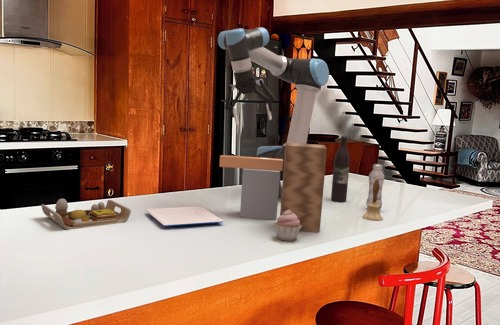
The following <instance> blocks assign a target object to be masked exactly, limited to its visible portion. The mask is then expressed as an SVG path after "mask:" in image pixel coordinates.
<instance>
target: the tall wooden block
mask: <svg viewBox="0 0 500 325" xmlns="http://www.w3.org/2000/svg"><path fill="white" fill-rule="evenodd" d="M284 144H285V156H284V169H283V176H282V182H281V185H282V196H281V197H280V198H281V199H280V213H279V216H281V215H282V214H283V213H284V212H285V211H287V210H291V212H293V213H294V214H295V215H296V216H297V217H298V219H299V221H300V225H302V227H301V228H300V230H299V231H301V232H303V231H304V232H313V233H314V232H315V233H320V232H321V221H322V211H323V210H322V209H323V199H324V198H323V197H324V188H325V178H326V177H325V175H326V164H327V162H326V161H327V154H328V153H327V152H328V151H327V150H328V148H327V147H326V146H325V145H324V144H315V143H314V144H311V143H306V144H299V143H286V142H285V143H284Z"/></svg>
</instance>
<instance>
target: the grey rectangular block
mask: <svg viewBox="0 0 500 325" xmlns="http://www.w3.org/2000/svg"><path fill="white" fill-rule="evenodd" d="M279 179H280V180H281V175H280V171H276V170H261V169H246V168H242V177H241V180H242V181H241V190H240V191H241V195H240V196H241V197H240V209H239V210H240V211H239V218H245V219H246V218H247V219H260V220H272V221H273V220H274V221H275V220H276V221H277V219H278V217H277V216H278V205H279V197H278V193H279Z"/></svg>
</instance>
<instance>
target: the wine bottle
mask: <svg viewBox="0 0 500 325" xmlns="http://www.w3.org/2000/svg"><path fill="white" fill-rule="evenodd" d="M347 141H348V136H345V135H342V136H341V137H340V146H339V147H338V150H337V151H336V153H335V155H334V160H333V170H332V171H333V172H332V181H331V194H330V200H331V201H333V202H336V203H345V202H347V198H348V196H347V195H348V186H349V185H348V184H349V175H350V174H349V173H350V164H351V162H350V161H351V156H350V152H349V150H348V147H347Z"/></svg>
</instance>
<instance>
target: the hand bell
mask: <svg viewBox="0 0 500 325" xmlns="http://www.w3.org/2000/svg"><path fill="white" fill-rule="evenodd" d="M379 187H380V186H379V180H377V179H376V180H375V182H374V184H373V200H372V203H371V204H369V205H368V208H367V207H366V208H367V209H366V210H365V213H363V215H362V218H363V219H365V220H368V221H378V222H379V221H383V220H384V218H383V216H382V215H381V212H380V210H381V209H379V205H377V204H376V201H377V194H378V192H379Z"/></svg>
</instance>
